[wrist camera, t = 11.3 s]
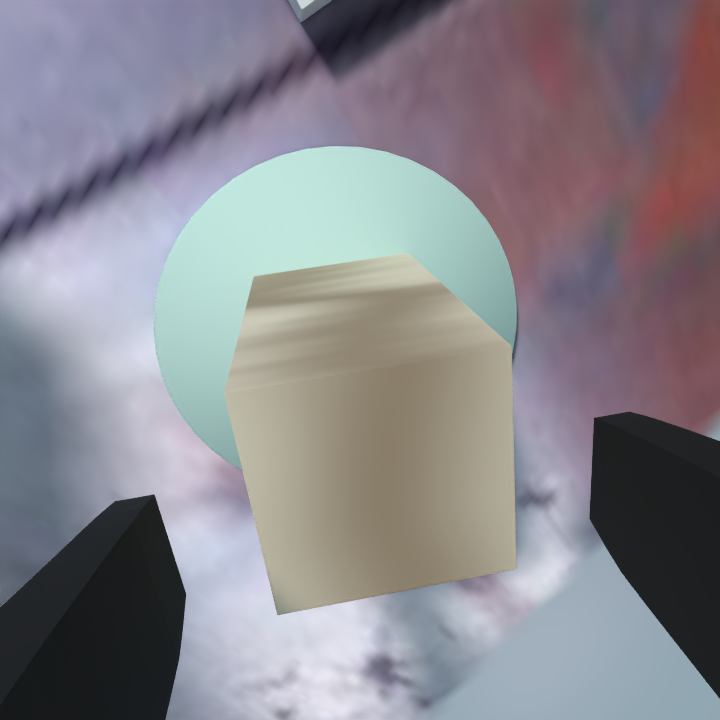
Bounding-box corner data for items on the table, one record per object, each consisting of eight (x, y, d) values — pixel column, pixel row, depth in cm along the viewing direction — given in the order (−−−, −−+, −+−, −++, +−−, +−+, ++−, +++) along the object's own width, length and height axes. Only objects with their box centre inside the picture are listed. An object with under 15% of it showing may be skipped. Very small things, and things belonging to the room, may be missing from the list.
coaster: (294, 536, 20) (294, 546, 19) (75, 286, 16) (69, 290, 15) (563, 375, 19) (570, 381, 18) (403, 62, 15) (407, 59, 14)
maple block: (281, 414, 17) (277, 615, 10) (253, 275, 16) (224, 393, 8) (420, 391, 18) (516, 569, 10) (408, 253, 16) (511, 345, 9)
